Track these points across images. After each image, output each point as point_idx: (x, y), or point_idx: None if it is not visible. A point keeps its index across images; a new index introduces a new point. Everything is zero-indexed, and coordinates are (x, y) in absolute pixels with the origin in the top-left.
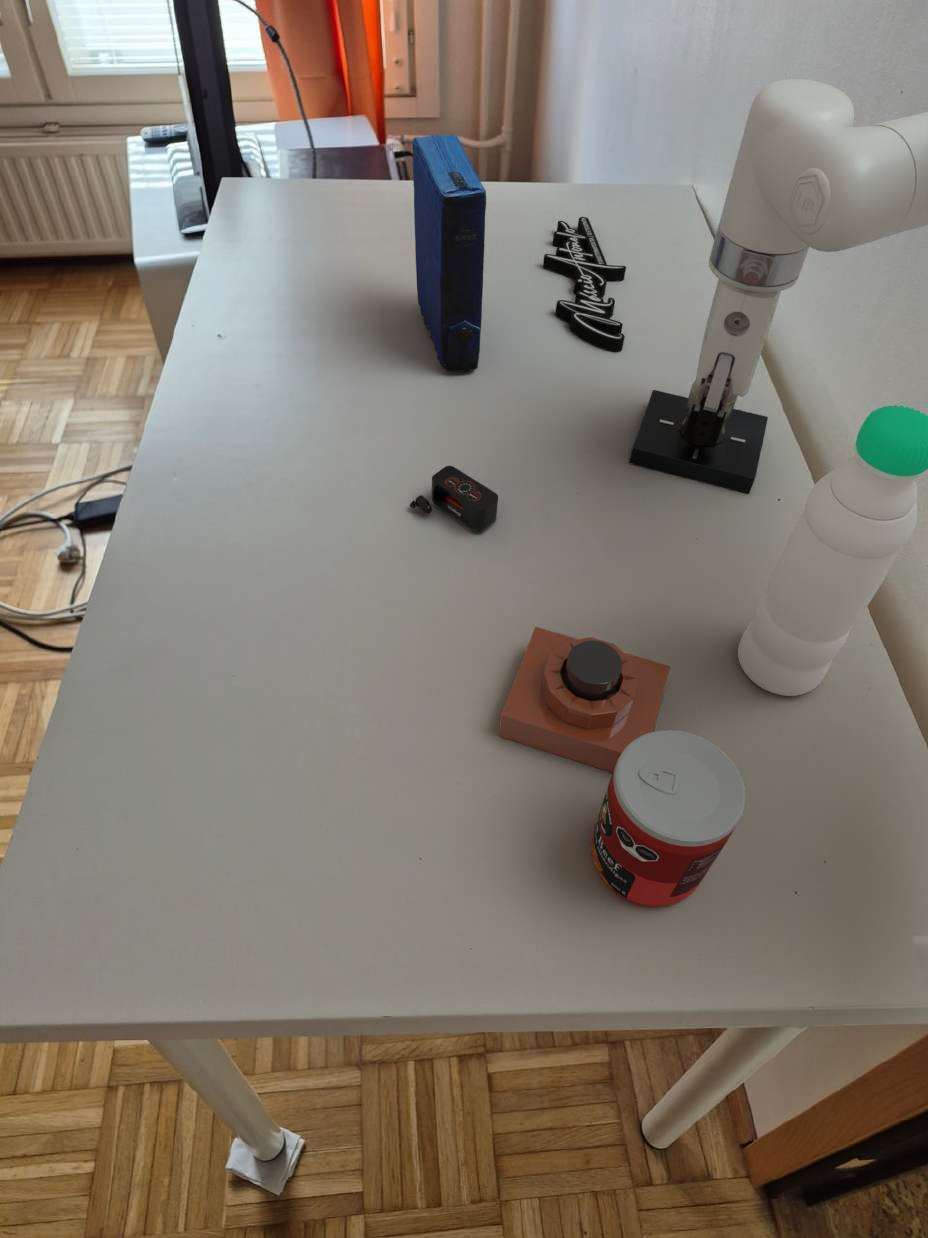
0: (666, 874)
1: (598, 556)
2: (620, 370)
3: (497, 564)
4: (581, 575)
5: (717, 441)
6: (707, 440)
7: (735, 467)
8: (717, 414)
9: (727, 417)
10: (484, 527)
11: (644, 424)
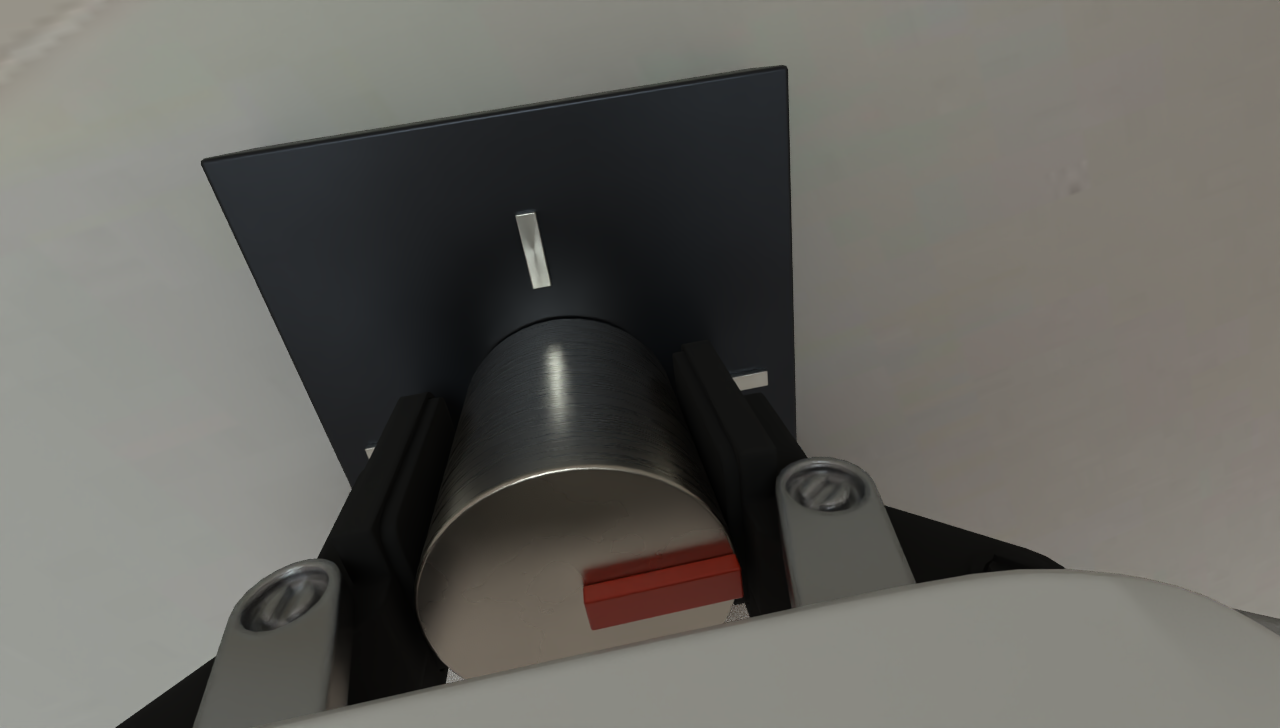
0: None
1: (1188, 423)
2: None
3: (1228, 583)
4: (1260, 429)
5: (623, 335)
6: (763, 396)
7: (742, 191)
8: (950, 525)
9: (626, 399)
10: None
11: None
